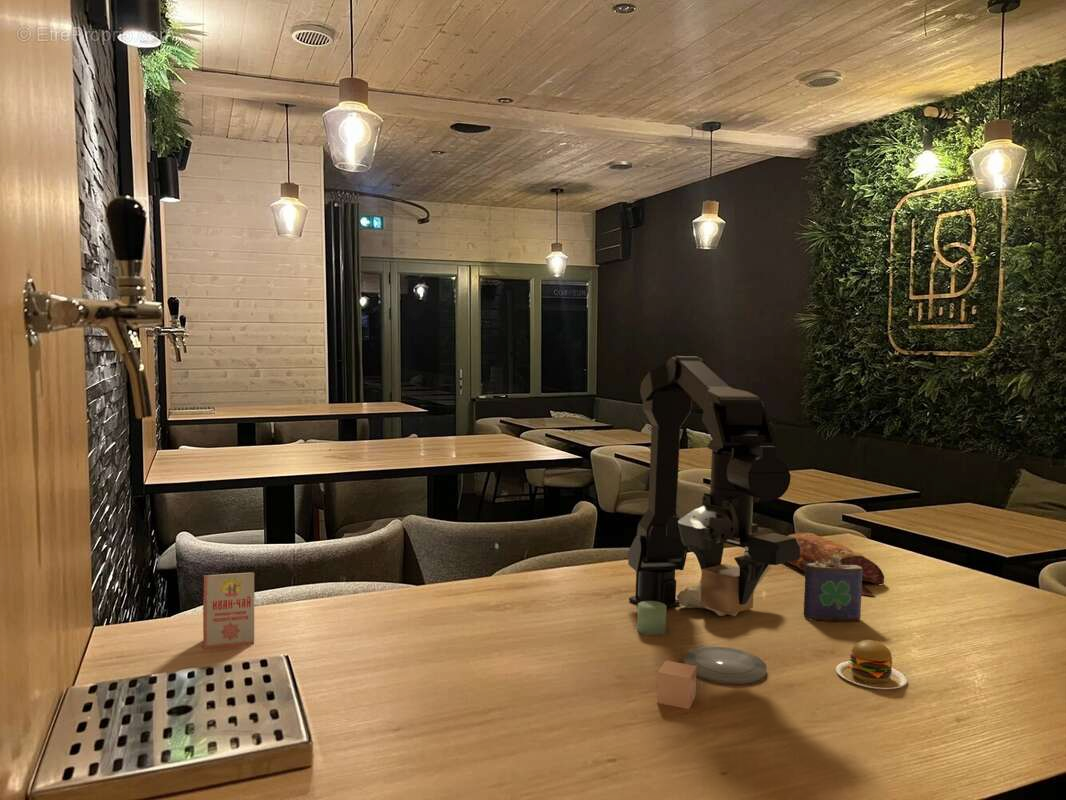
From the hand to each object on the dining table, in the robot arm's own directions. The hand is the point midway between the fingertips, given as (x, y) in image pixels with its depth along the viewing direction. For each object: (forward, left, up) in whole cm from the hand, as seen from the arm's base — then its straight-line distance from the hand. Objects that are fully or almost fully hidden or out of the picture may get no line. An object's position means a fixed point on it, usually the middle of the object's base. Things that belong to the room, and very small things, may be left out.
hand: (727, 598), depth 109 cm
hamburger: (+14, +14, -11) cm, 22 cm away
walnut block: (0, 0, -1) cm, 1 cm away
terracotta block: (+3, -13, -10) cm, 17 cm away
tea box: (-47, -53, -10) cm, 71 cm away
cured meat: (-17, +52, -10) cm, 56 cm away
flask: (-3, +31, -10) cm, 33 cm away
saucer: (0, 0, -10) cm, 10 cm away
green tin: (-16, +2, -10) cm, 19 cm away
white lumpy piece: (-16, +21, -10) cm, 28 cm away
